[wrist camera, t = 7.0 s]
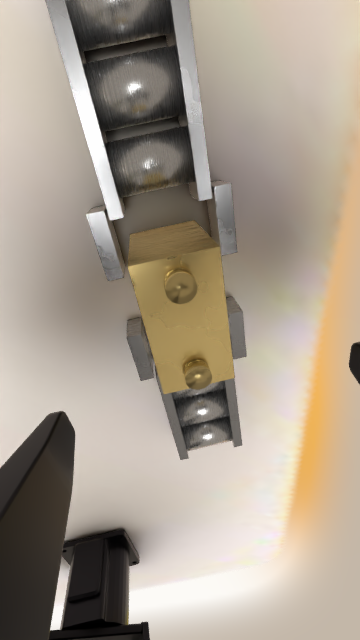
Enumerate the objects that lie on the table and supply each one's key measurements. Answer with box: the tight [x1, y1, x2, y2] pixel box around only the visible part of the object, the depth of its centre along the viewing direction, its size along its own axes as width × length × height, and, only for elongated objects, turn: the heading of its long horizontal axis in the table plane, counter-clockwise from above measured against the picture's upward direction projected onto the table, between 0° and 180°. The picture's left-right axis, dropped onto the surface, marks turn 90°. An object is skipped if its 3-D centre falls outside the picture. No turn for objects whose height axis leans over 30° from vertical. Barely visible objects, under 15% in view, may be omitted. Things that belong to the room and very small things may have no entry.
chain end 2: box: [127, 297, 246, 460], centre depth 20 cm, size 11×7×2 cm, turn 11°
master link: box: [128, 220, 235, 394], centre depth 15 cm, size 6×4×6 cm, turn 10°
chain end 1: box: [45, 0, 237, 281], centre depth 13 cm, size 11×7×2 cm, turn 11°
